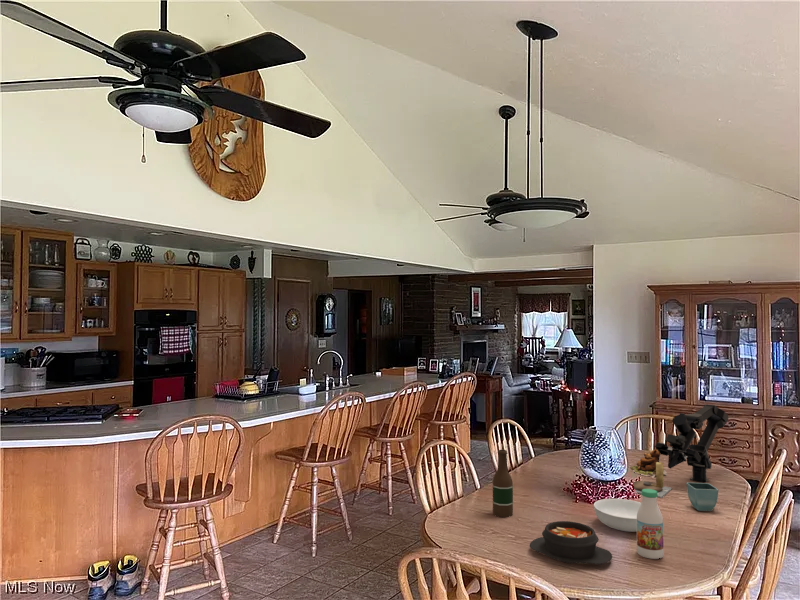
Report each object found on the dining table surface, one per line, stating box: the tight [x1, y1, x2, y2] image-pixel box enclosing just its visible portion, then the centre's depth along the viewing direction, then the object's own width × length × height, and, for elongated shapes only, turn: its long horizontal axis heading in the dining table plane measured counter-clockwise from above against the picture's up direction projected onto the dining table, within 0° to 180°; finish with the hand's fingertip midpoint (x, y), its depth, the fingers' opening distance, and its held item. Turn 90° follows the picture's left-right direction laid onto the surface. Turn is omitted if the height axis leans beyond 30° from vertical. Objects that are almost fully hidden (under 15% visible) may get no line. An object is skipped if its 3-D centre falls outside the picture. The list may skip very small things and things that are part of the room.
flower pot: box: [686, 482, 719, 512], centre depth 224 cm, size 9×9×9 cm
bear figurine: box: [630, 448, 668, 478], centre depth 275 cm, size 14×15×12 cm
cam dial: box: [632, 461, 664, 492], centre depth 248 cm, size 12×12×11 cm
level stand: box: [635, 485, 673, 499], centre depth 248 cm, size 16×16×1 cm
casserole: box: [529, 520, 613, 565], centre depth 181 cm, size 25×19×8 cm
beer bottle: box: [492, 449, 514, 518], centre depth 219 cm, size 8×8×24 cm
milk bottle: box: [636, 489, 664, 560], centre depth 182 cm, size 8×8×20 cm
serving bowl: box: [593, 498, 642, 533], centre depth 205 cm, size 21×21×7 cm
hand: (669, 467), depth 249 cm, fingers closed
